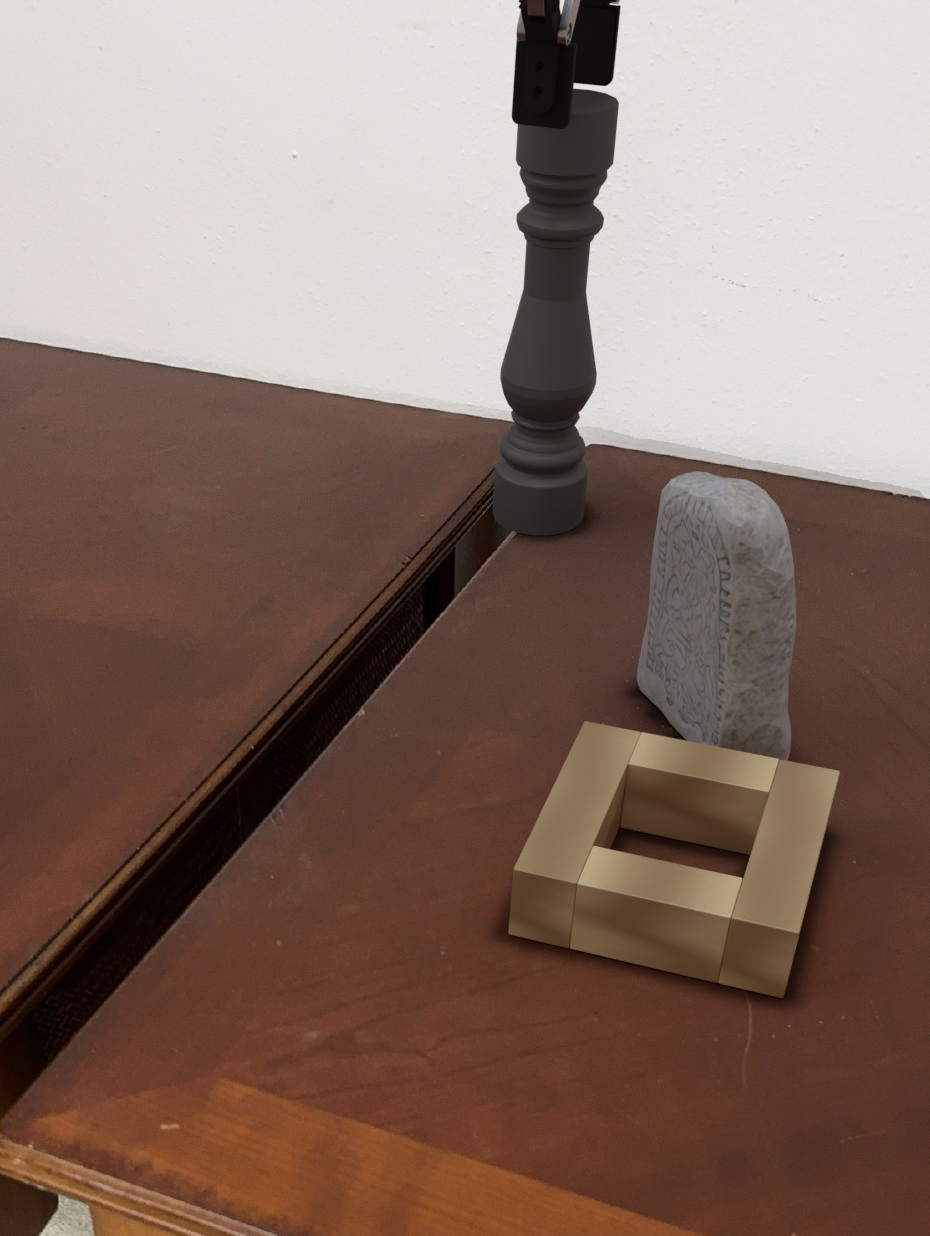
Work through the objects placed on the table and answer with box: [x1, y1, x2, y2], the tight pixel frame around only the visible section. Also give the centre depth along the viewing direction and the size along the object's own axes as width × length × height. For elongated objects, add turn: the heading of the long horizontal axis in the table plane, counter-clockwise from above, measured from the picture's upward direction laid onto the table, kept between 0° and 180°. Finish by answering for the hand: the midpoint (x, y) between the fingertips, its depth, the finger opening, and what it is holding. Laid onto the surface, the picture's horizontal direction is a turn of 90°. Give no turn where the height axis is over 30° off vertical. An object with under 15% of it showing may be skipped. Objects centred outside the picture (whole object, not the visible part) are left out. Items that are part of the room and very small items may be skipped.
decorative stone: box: [636, 470, 797, 761], centre depth 80 cm, size 11×6×15 cm, turn 21°
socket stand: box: [508, 720, 841, 999], centre depth 74 cm, size 13×13×4 cm
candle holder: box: [492, 88, 620, 536], centre depth 96 cm, size 6×6×25 cm
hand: (563, 103), depth 87 cm, fingers open, 9 cm apart
